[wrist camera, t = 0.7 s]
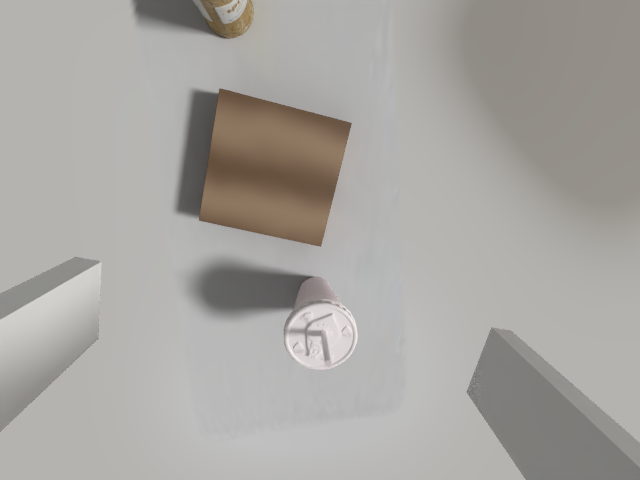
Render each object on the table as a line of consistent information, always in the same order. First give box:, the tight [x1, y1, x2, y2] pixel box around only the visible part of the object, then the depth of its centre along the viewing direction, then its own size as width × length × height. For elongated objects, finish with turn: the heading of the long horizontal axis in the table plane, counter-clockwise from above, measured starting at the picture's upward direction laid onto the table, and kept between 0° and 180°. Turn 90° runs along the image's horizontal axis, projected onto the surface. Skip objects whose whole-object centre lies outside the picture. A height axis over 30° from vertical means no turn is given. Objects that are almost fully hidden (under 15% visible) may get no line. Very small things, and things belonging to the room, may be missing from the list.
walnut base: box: [199, 89, 352, 246], centre depth 32 cm, size 12×12×3 cm
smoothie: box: [284, 277, 357, 370], centre depth 31 cm, size 6×6×14 cm
